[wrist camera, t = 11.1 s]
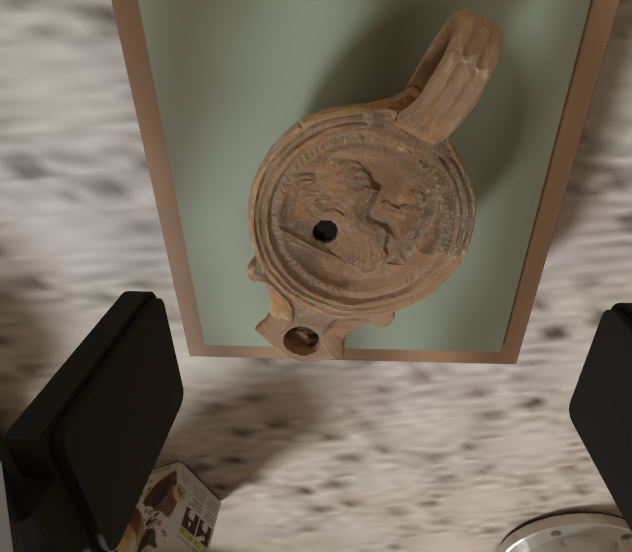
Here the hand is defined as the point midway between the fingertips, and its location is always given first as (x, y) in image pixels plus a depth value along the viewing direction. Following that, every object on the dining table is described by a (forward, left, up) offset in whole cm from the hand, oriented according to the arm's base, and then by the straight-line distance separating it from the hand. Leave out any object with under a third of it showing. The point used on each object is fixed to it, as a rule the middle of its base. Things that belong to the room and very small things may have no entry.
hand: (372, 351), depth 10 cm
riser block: (0, -1, -15) cm, 15 cm away
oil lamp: (0, 0, -9) cm, 9 cm away
